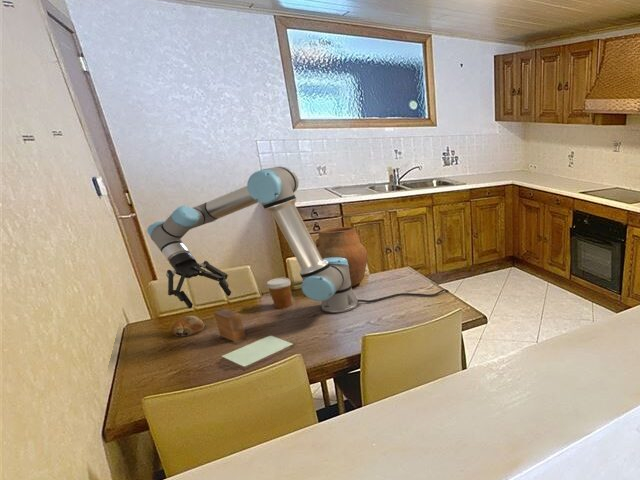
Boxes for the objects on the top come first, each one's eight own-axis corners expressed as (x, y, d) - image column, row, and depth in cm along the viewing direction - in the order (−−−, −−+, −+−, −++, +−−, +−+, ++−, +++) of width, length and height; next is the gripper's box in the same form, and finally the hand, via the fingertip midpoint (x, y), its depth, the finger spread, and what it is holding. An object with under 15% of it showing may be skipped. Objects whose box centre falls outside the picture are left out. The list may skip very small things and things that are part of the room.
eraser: (231, 333, 170) (225, 308, 166) (246, 339, 165) (239, 314, 161) (220, 337, 166) (213, 312, 162) (235, 344, 162) (228, 318, 158)
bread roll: (208, 337, 174) (212, 318, 174) (181, 338, 164) (185, 317, 164) (191, 333, 177) (195, 314, 177) (164, 334, 167) (168, 313, 167)
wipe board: (271, 337, 167) (270, 335, 166) (294, 346, 161) (293, 343, 160) (221, 359, 152) (221, 356, 152) (245, 369, 146) (244, 366, 145)
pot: (365, 274, 236) (358, 220, 225) (376, 288, 217) (368, 230, 206) (317, 281, 223) (307, 226, 213) (324, 297, 205) (314, 236, 194)
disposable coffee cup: (284, 310, 190) (279, 285, 186) (266, 308, 192) (260, 283, 188) (299, 302, 199) (295, 278, 195) (282, 300, 201) (277, 276, 196)
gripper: (212, 254, 178) (241, 294, 177) (139, 272, 158) (171, 317, 156) (216, 243, 174) (246, 284, 173) (141, 260, 153) (175, 306, 152)
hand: (211, 300), depth 165 cm, fingers open, 13 cm apart
